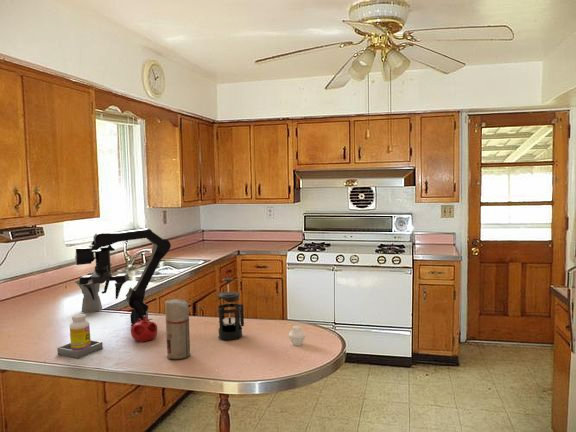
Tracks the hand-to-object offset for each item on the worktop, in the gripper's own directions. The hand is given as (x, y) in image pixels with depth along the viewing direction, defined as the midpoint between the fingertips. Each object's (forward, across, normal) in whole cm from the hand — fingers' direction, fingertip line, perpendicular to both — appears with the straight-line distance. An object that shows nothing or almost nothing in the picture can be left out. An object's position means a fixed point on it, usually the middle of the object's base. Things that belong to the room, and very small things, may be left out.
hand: (105, 299), depth 197 cm
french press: (+13, +53, -16) cm, 57 cm away
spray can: (+13, +36, -34) cm, 51 cm away
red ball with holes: (+13, +19, -14) cm, 27 cm away
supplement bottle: (+13, -1, -24) cm, 28 cm away
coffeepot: (+13, -17, +33) cm, 40 cm away
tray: (+13, -2, -24) cm, 28 cm away
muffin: (+13, +78, -28) cm, 84 cm away
